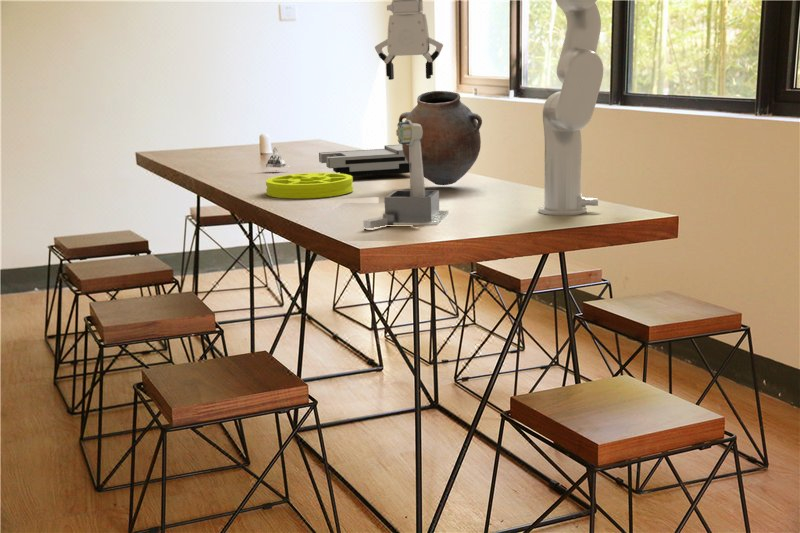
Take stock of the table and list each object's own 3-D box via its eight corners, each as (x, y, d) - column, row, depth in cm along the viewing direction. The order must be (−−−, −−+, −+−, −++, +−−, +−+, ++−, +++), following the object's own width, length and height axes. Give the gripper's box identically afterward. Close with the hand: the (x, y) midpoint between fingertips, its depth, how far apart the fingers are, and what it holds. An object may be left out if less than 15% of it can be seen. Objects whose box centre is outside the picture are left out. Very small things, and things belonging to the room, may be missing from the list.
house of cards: (296, 165, 375) (295, 145, 373) (284, 167, 368) (283, 148, 366) (278, 164, 379) (276, 145, 378) (265, 167, 372) (264, 147, 370)
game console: (319, 171, 354) (318, 149, 352) (402, 166, 361) (401, 144, 359) (330, 178, 334) (329, 155, 332) (417, 172, 342) (416, 149, 340)
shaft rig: (452, 210, 260) (451, 185, 259) (433, 231, 232) (432, 203, 230) (389, 210, 264) (388, 185, 262) (362, 230, 236) (361, 203, 234)
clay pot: (402, 192, 295) (399, 94, 288) (400, 181, 319) (397, 90, 312) (485, 189, 295) (484, 91, 288) (477, 178, 320) (475, 88, 313)
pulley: (344, 183, 322) (343, 168, 321) (360, 194, 296) (360, 178, 294) (262, 188, 316) (261, 173, 314) (271, 200, 289) (270, 184, 288)
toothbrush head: (430, 216, 246) (427, 119, 241) (407, 219, 244) (404, 121, 238) (421, 213, 251) (418, 118, 245) (398, 216, 248) (395, 120, 243)
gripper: (370, 10, 234) (373, 80, 238) (439, 7, 230) (441, 78, 234) (377, 10, 241) (379, 79, 245) (444, 8, 237) (445, 77, 241)
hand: (409, 79), depth 240 cm, fingers open, 9 cm apart
